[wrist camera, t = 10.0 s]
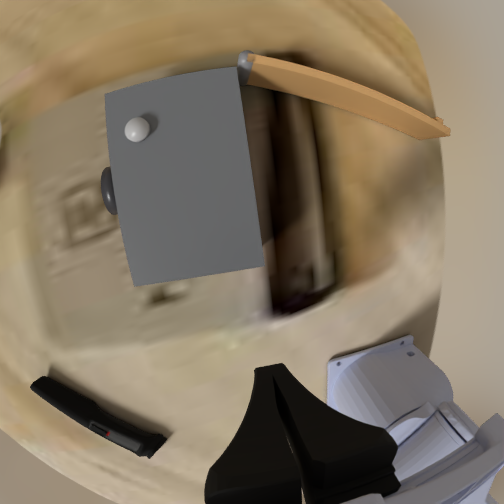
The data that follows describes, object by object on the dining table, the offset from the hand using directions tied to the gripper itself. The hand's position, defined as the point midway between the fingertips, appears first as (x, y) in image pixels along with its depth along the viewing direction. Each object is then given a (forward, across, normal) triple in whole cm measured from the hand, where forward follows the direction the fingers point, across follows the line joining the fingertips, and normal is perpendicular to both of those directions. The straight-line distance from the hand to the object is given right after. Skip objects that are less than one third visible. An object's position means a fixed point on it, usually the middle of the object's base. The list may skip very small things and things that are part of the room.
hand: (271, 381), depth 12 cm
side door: (+9, -9, -14) cm, 19 cm away
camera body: (+9, +3, -10) cm, 14 cm away
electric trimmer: (+10, +18, +11) cm, 23 cm away
